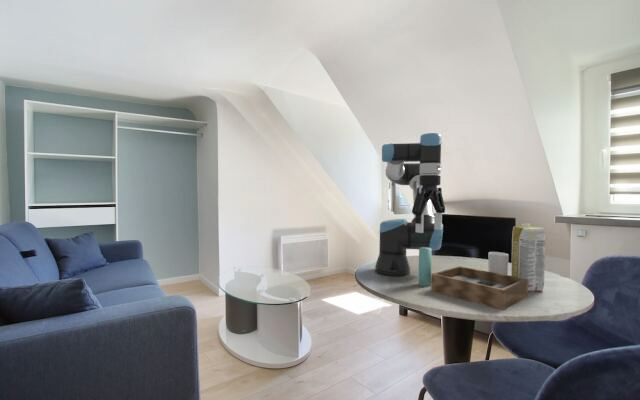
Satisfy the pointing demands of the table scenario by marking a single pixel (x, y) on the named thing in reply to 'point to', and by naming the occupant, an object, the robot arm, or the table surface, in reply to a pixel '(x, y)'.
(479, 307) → the table surface
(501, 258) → the mug
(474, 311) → the table surface
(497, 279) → the crate
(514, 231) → the juice carton
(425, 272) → the peg
